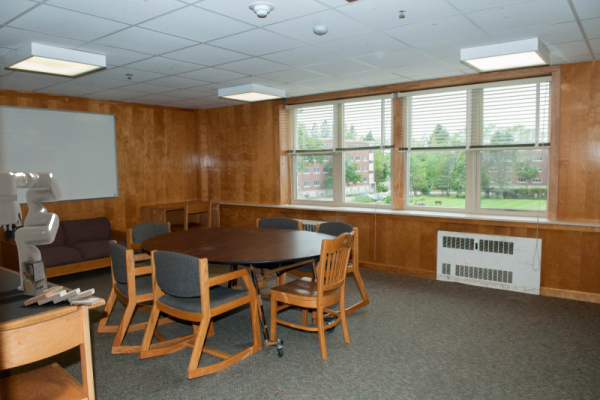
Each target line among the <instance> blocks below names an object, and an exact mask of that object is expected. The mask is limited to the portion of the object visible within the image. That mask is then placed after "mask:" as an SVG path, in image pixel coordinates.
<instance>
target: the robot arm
mask: <svg viewBox="0 0 600 400" xmlns="http://www.w3.org/2000/svg"><path fill="white" fill-rule="evenodd" d="M17 189H27V190H26V192H25V200H26V203H27V207H28V212H27V214H26V216H25V218H24V222H23V223H22V221H23V215H22V208H21V204H20V202H19V201H18V193H17ZM62 195H63V193H62V190H61V187H60V185H59V182H58V180H57V178H56V176H55V175H54V173H52V172H50V171H43V172H41V171H40V172H39V171H38V172H37V171H36V172H31V171H17V170H16V171H15V170H14V171H0V228H2V229H3V230H4V231H5V237H6V240H13V239H14V241H15V244H16V248H17V253H18V263H19V264H18V265H19V274H20V275H19V277H20V285H18V287H17V291H20V292H24V287H23V276H22V266H21V263H22V262H25V261H30V260H41V261H42V255H41V254H42V253H41V251H40V249H39V248H38V247H37V246H40V245H49V244H52V243H53V242H54V241H55V239H56V235H57V232H58V230H59V227H60V219H59V215H58V214H56V213H54V212H48V210H47V208H46V206H44V205H43V204H42V203H49V202H50V203H51V202H58V201H60V200H61V199H62ZM22 224H23V227H20V228H18V227H19V226H22ZM17 228H18V229H17ZM16 229H17V230H16Z"/></svg>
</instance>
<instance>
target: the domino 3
mask: <svg viewBox="0 0 600 400" xmlns="http://www.w3.org/2000/svg"><path fill="white" fill-rule="evenodd" d="M78 293H81V289H80V287H78V288H75V289H73V290H70V291H68V292H67V293H66V294H64V295H63V296H61V297H59V298H57V299H54V300H52V302H53V304H58V303H60V302H62V301H64V300H67V299H68V298H70V297H72V296H74V295H77V294H78Z"/></svg>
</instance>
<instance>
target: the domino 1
mask: <svg viewBox="0 0 600 400" xmlns="http://www.w3.org/2000/svg"><path fill="white" fill-rule="evenodd" d="M53 294H54V293H53V291H49V292H46V293H44V294H41V295H38V296H32V297H31V298H29V299H27V300H26V301H23V304H24V306H25V307H27V306H29V305H32V304H34V303H38V301H40V300H43V299H46V298H48V297H49V296H51V295H53Z"/></svg>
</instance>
